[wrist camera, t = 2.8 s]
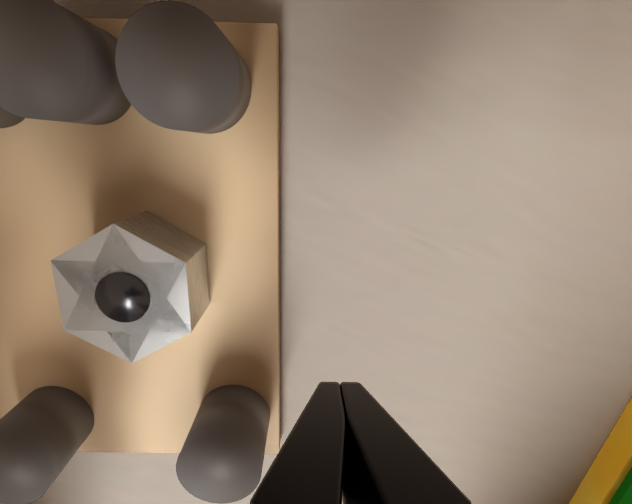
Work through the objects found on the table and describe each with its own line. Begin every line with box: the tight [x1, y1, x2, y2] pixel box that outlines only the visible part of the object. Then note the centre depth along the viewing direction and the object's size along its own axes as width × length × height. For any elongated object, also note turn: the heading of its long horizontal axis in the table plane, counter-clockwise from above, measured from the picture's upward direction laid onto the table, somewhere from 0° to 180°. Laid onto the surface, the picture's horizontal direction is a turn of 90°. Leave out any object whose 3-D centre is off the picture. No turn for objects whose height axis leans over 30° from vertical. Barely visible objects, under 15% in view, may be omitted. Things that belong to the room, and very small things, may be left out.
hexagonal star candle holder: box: [50, 210, 210, 363], centre depth 14 cm, size 4×5×3 cm
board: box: [0, 0, 280, 504], centre depth 14 cm, size 14×18×4 cm
